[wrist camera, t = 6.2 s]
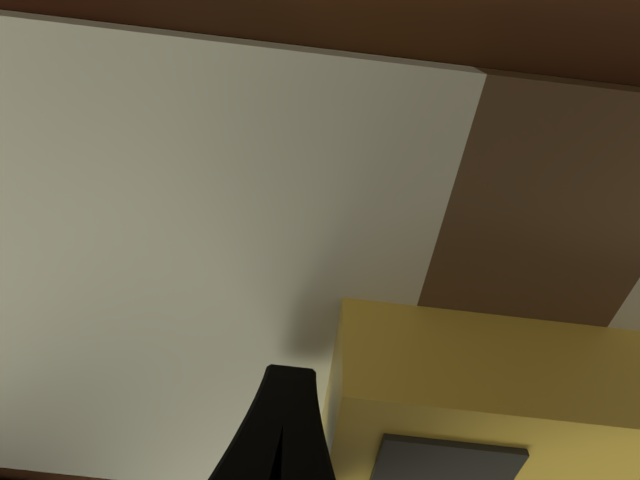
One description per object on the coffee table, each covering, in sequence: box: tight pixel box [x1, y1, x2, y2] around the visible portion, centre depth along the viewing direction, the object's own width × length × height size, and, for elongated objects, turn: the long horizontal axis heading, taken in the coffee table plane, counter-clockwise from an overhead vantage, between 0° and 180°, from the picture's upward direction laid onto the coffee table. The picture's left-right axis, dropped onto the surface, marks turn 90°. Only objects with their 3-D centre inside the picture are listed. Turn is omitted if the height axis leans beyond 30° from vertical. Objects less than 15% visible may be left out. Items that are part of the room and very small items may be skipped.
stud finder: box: [322, 298, 640, 480], centre depth 10 cm, size 5×9×3 cm, turn 84°
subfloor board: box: [0, 10, 640, 480], centre depth 12 cm, size 16×24×1 cm, turn 84°
